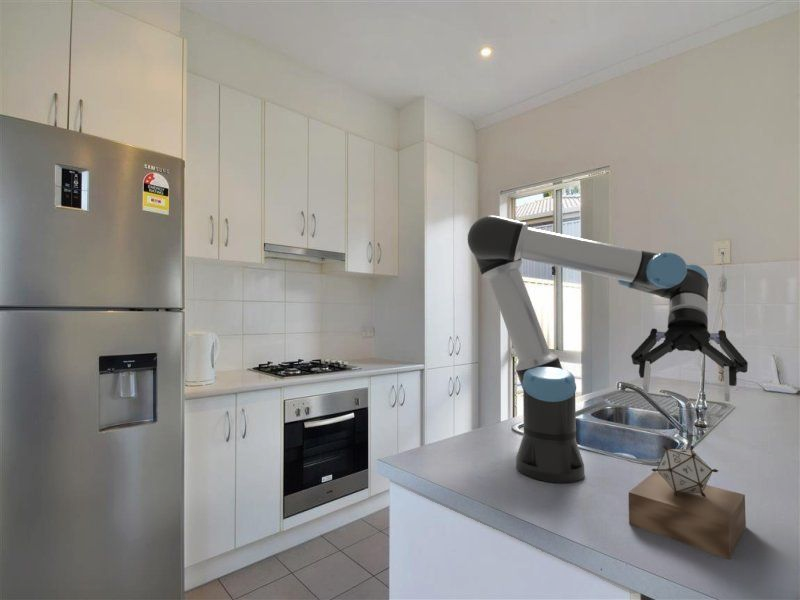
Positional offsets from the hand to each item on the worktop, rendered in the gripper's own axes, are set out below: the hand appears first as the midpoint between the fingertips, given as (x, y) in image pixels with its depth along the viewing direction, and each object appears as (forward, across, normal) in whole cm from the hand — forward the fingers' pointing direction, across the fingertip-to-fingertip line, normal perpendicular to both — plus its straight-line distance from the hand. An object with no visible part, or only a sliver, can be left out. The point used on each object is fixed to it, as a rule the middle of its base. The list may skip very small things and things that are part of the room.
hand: (684, 393), depth 83 cm
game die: (+20, 0, -2) cm, 20 cm away
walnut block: (+24, -1, -6) cm, 25 cm away
